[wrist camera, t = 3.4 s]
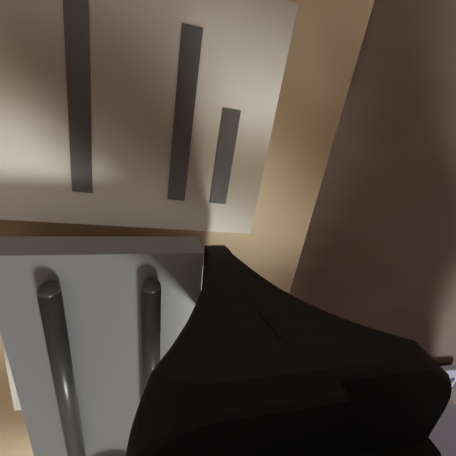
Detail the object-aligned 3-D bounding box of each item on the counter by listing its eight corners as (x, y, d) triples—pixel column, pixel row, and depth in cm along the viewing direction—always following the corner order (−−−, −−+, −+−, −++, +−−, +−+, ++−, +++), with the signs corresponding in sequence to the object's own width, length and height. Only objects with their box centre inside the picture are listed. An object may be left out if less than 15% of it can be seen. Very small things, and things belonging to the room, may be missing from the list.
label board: (247, 425, 17) (249, 436, 17) (-32, 459, 14) (-40, 475, 13) (390, -83, 9) (405, -94, 8) (-281, -357, 5) (-333, -410, 4)
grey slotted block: (183, 444, 15) (187, 500, 13) (57, 465, 14) (39, 532, 12) (198, 232, 11) (208, 268, 8) (6, 232, 9) (-40, 274, 7)
